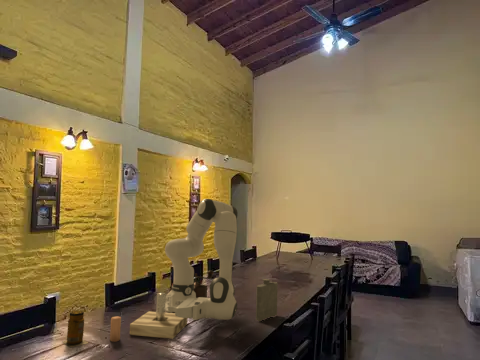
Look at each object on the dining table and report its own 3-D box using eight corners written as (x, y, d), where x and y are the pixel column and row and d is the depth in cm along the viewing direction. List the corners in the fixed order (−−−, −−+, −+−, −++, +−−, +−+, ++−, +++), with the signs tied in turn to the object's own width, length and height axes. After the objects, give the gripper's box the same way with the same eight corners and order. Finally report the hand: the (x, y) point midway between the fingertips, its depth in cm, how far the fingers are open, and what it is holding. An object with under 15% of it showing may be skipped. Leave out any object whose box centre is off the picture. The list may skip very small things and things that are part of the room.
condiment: (79, 337, 150) (81, 308, 151) (88, 343, 144) (90, 313, 145) (61, 342, 145) (64, 312, 146) (70, 348, 139) (72, 316, 140)
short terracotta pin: (108, 339, 149) (109, 317, 150) (118, 337, 151) (119, 315, 152) (111, 342, 146) (112, 319, 147) (121, 340, 148) (122, 318, 149)
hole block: (148, 320, 175) (148, 311, 175) (187, 323, 172) (187, 314, 172) (129, 334, 155) (130, 324, 156) (173, 338, 152) (173, 327, 152)
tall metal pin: (154, 328, 164) (155, 293, 165) (162, 327, 166) (163, 292, 168) (157, 331, 161) (159, 295, 162) (165, 329, 163) (167, 294, 164)
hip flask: (259, 322, 177) (260, 281, 179) (253, 320, 180) (254, 280, 181) (278, 316, 189) (278, 278, 190) (272, 314, 192) (272, 276, 193)
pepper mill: (195, 304, 206) (196, 273, 208) (182, 301, 213) (184, 270, 215) (214, 300, 218) (215, 270, 219) (202, 296, 225) (203, 268, 226)
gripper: (207, 295, 172) (180, 293, 174) (195, 306, 152) (164, 304, 154) (206, 308, 171) (179, 306, 173) (194, 321, 151) (164, 318, 153)
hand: (172, 305), depth 163 cm, fingers open, 8 cm apart
